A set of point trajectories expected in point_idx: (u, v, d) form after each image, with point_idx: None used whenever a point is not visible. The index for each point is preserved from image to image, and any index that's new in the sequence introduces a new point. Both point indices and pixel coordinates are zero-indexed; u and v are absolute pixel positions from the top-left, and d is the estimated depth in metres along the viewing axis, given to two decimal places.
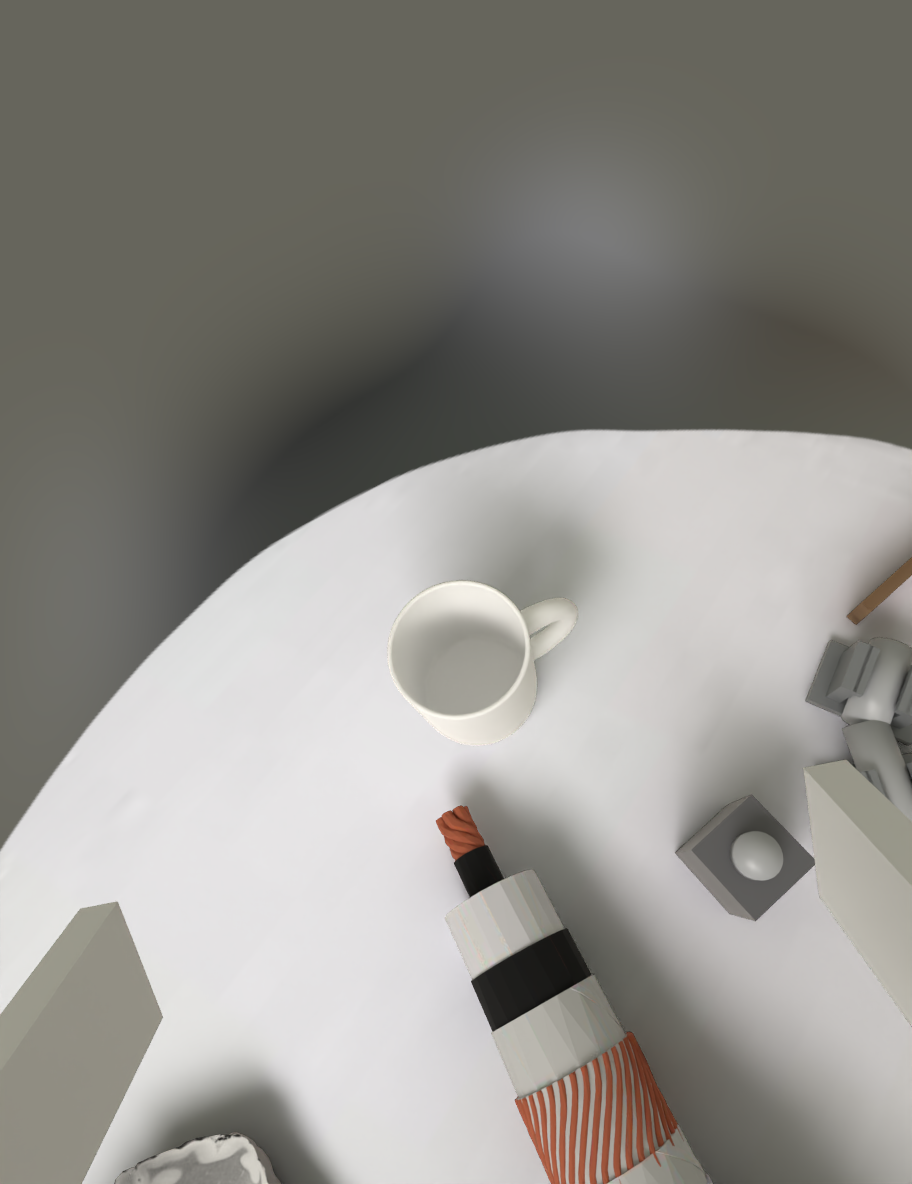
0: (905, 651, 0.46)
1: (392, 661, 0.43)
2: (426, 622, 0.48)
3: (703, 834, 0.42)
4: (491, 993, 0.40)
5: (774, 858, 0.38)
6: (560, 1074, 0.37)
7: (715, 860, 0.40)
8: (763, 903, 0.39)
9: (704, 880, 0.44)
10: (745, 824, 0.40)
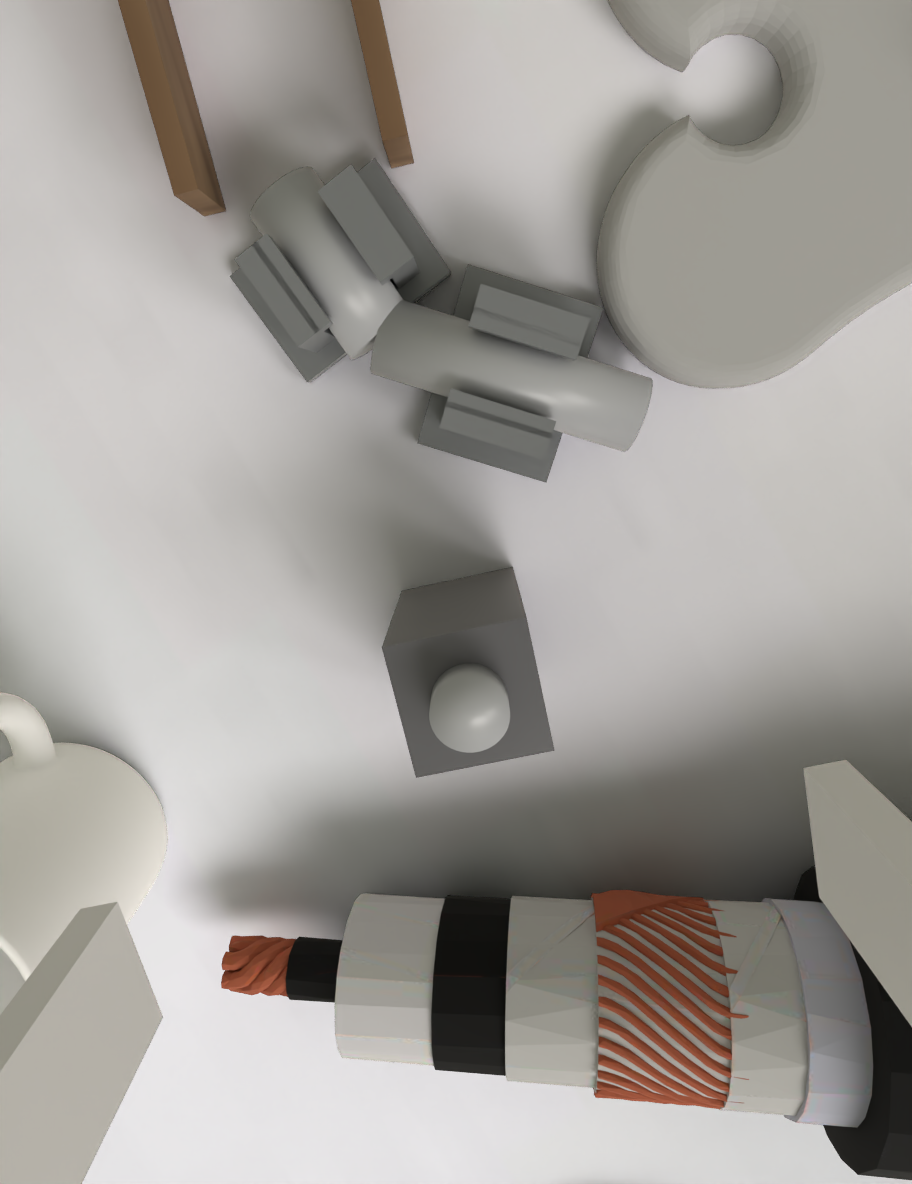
0: (293, 187, 0.23)
1: None
2: None
3: None
4: None
5: (485, 696, 0.22)
6: (592, 1067, 0.27)
7: (447, 754, 0.24)
8: (538, 726, 0.23)
9: None
10: (420, 683, 0.23)
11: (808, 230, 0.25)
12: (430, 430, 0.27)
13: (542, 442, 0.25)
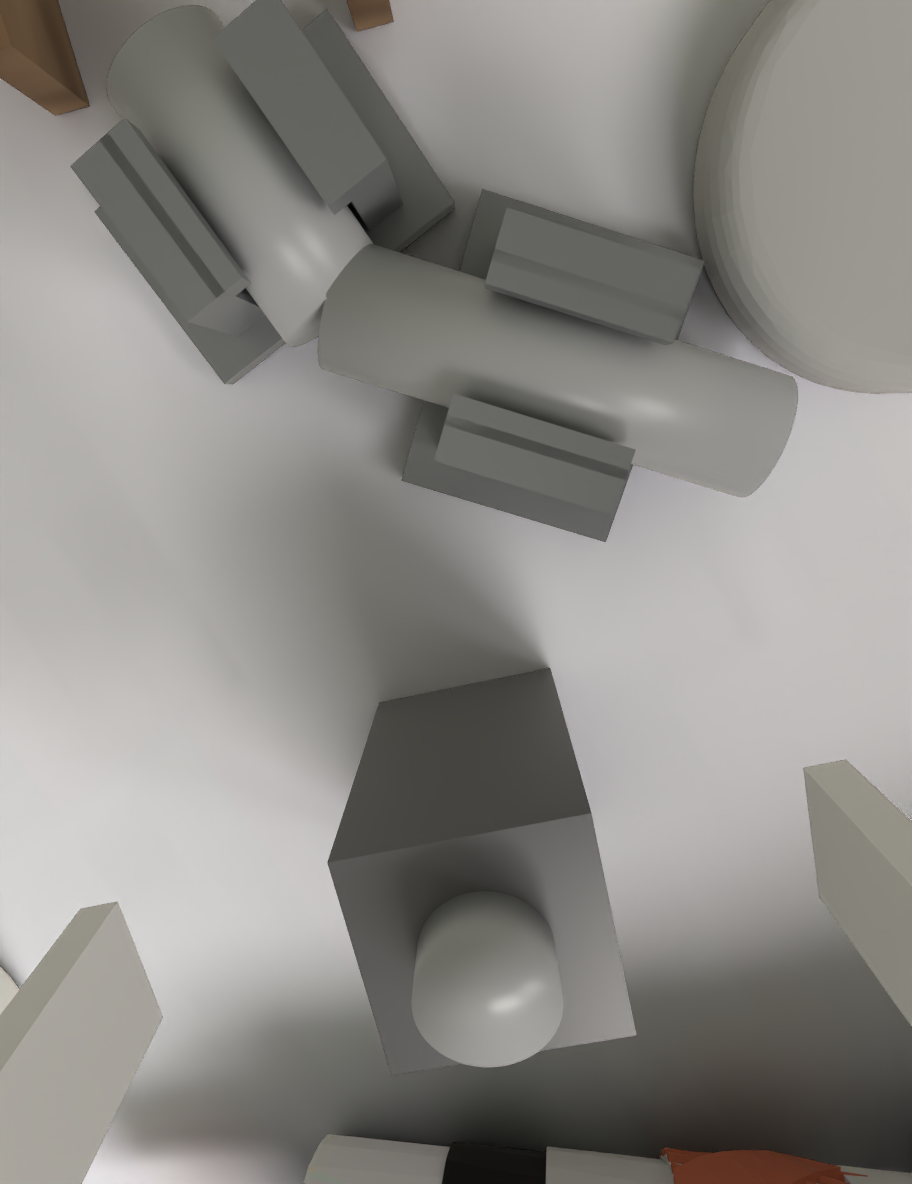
0: (174, 38, 0.13)
1: None
2: None
3: None
4: None
5: (517, 972, 0.12)
6: None
7: None
8: (608, 996, 0.13)
9: None
10: (398, 924, 0.13)
11: None
12: (423, 460, 0.17)
13: (611, 486, 0.14)
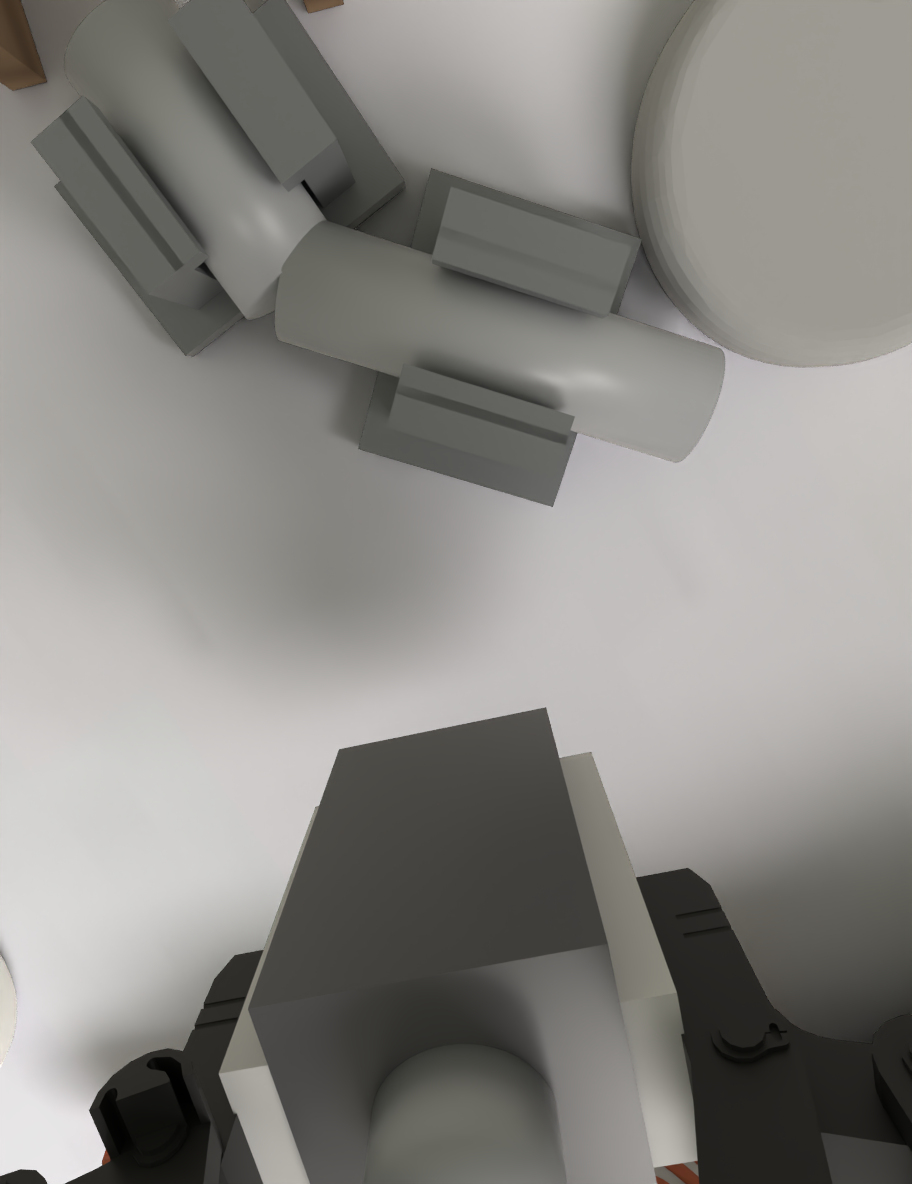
0: (130, 18, 0.14)
1: None
2: None
3: None
4: None
5: (507, 1177, 0.08)
6: None
7: None
8: (628, 1173, 0.10)
9: None
10: (346, 1085, 0.10)
11: None
12: (378, 428, 0.18)
13: (552, 450, 0.15)
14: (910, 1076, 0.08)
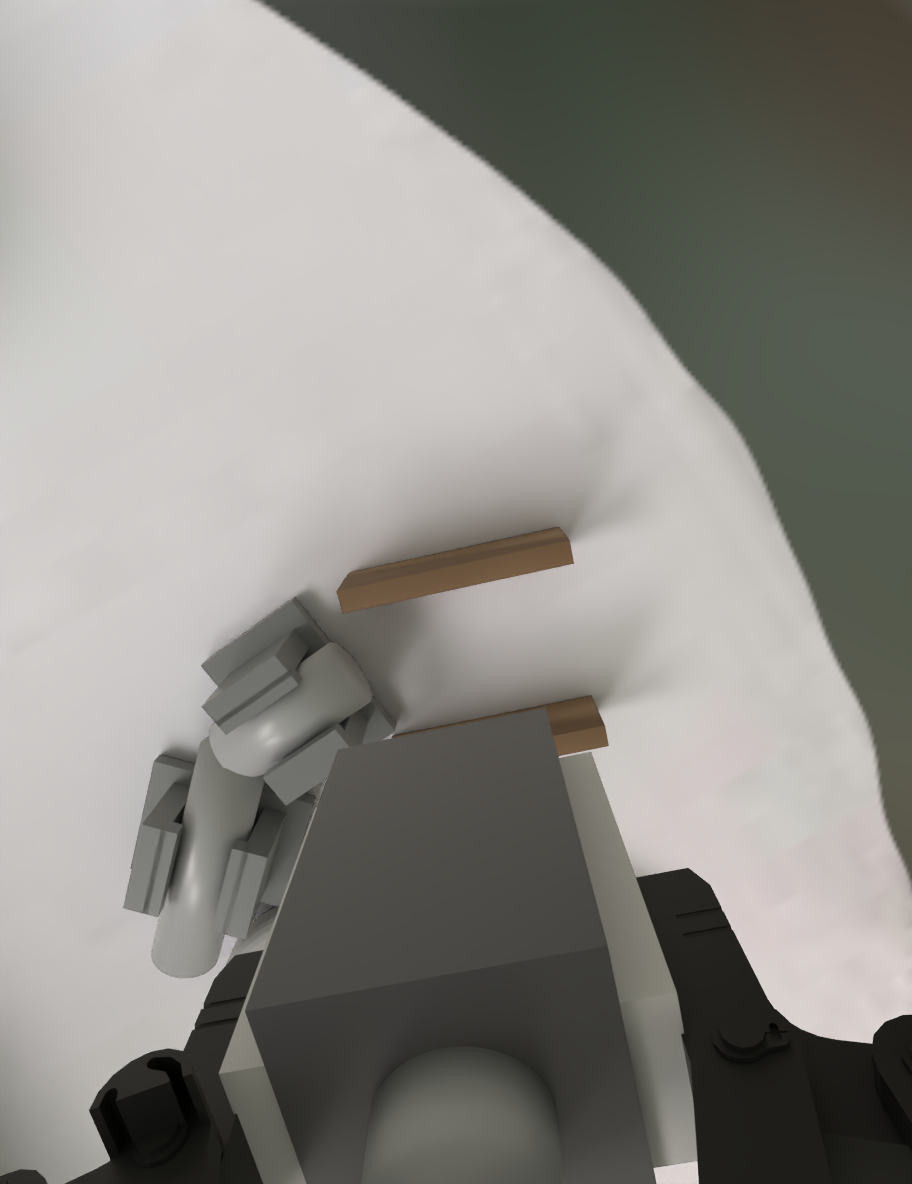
0: (342, 701, 0.26)
1: None
2: None
3: None
4: None
5: (504, 1181, 0.08)
6: None
7: None
8: (628, 1176, 0.10)
9: None
10: (343, 1088, 0.09)
11: None
12: (167, 773, 0.29)
13: (138, 906, 0.27)
14: (910, 1075, 0.08)
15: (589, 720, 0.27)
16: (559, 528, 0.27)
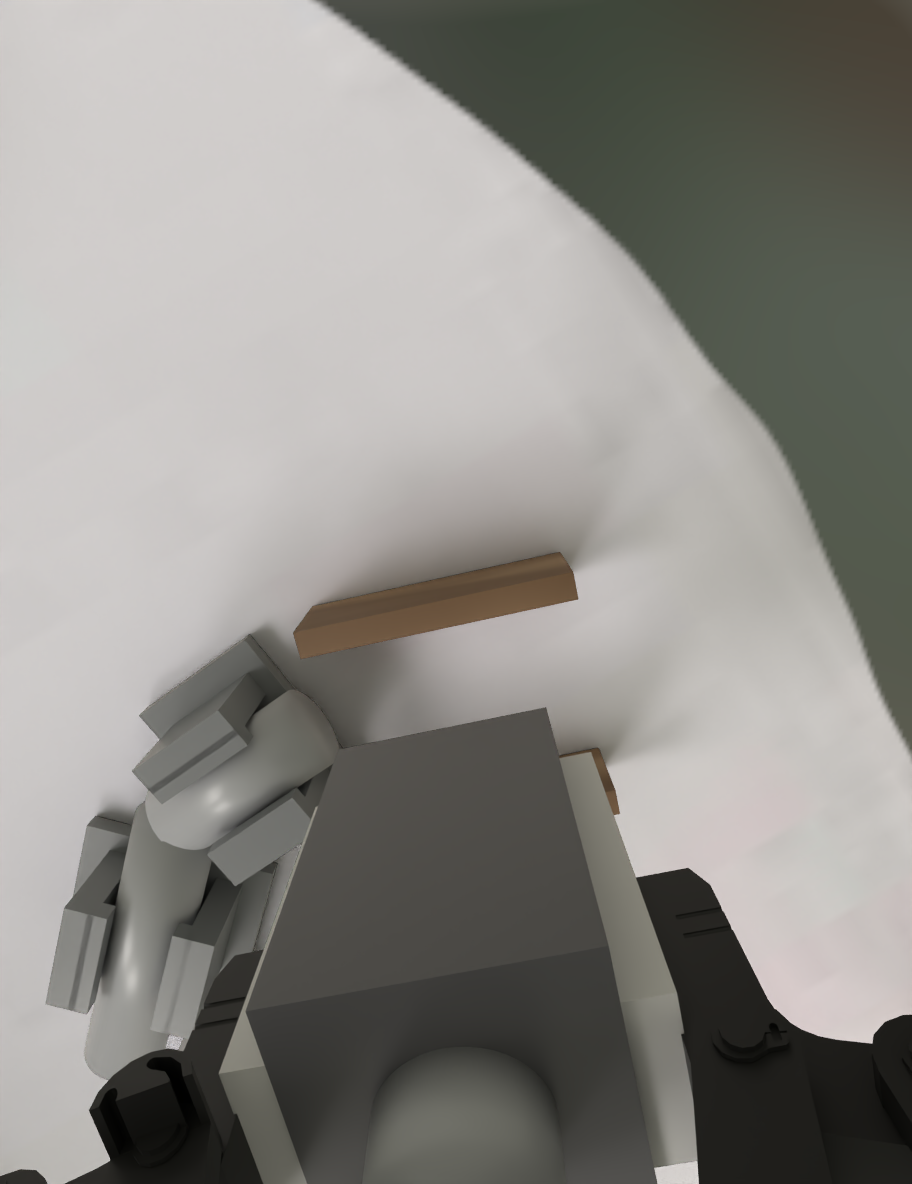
0: (302, 763, 0.22)
1: None
2: None
3: None
4: None
5: (506, 1181, 0.08)
6: None
7: None
8: (628, 1177, 0.10)
9: None
10: (345, 1088, 0.09)
11: None
12: (102, 839, 0.25)
13: (62, 1002, 0.23)
14: (910, 1076, 0.08)
15: None
16: (560, 554, 0.23)
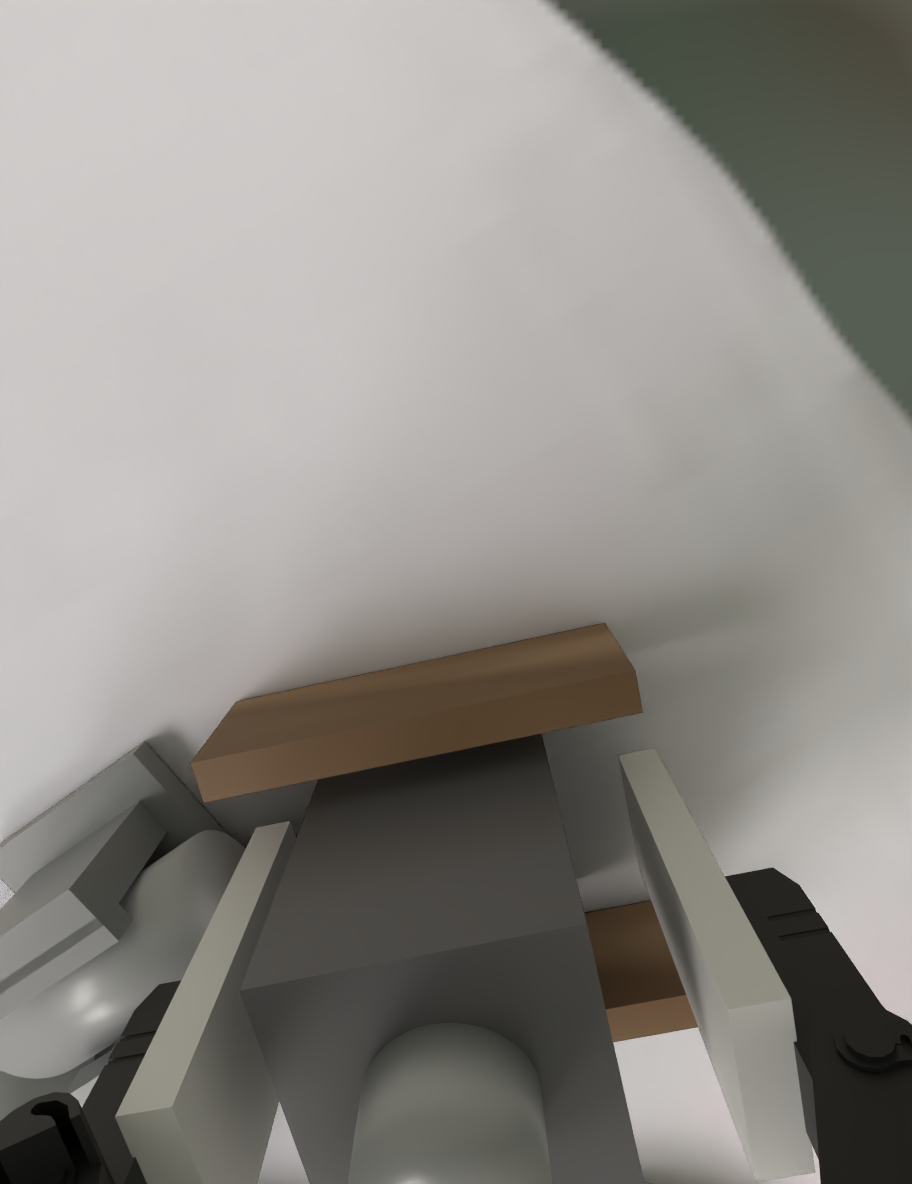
0: None
1: None
2: None
3: None
4: None
5: (488, 1148, 0.09)
6: None
7: None
8: (610, 1149, 0.10)
9: None
10: (334, 1065, 0.10)
11: None
12: None
13: None
14: None
15: (661, 972, 0.15)
16: (606, 628, 0.15)
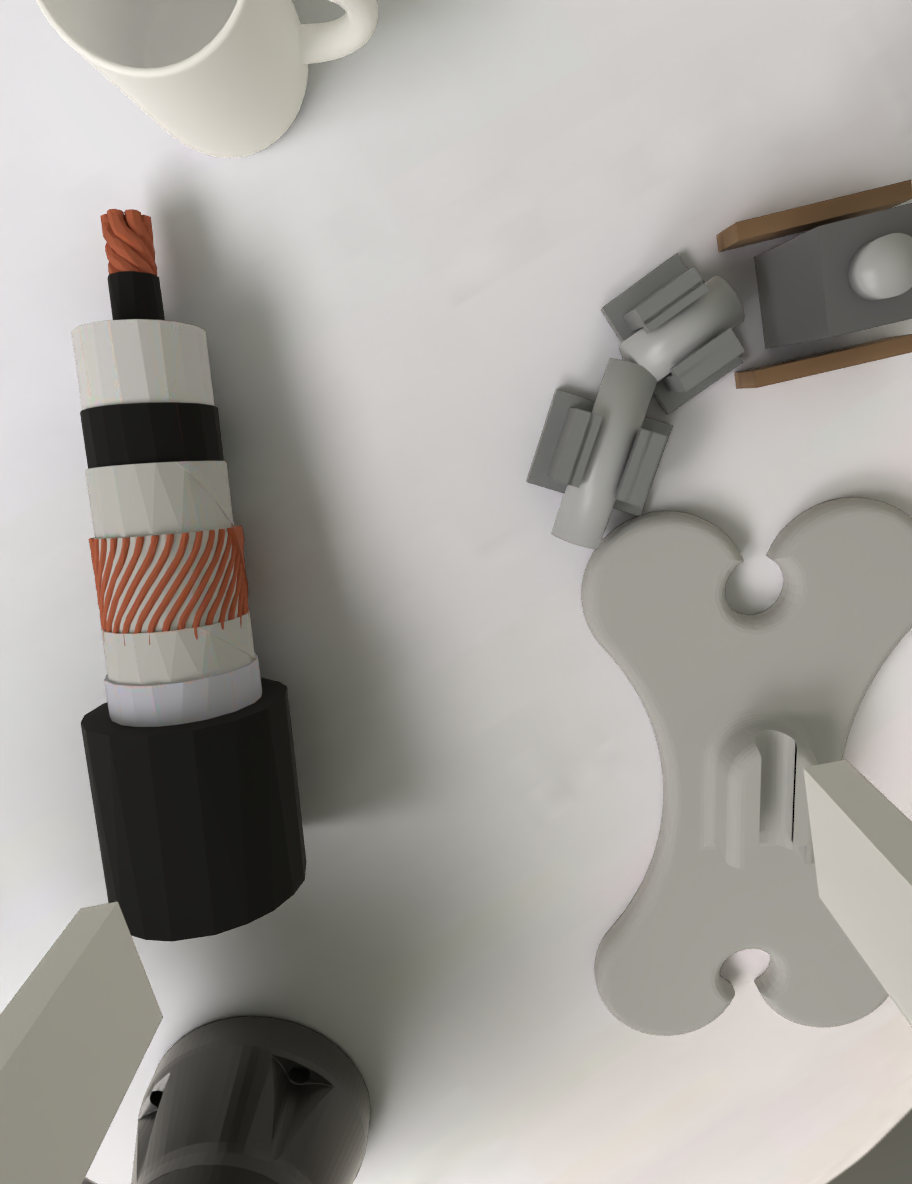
0: (733, 310, 0.35)
1: None
2: None
3: (803, 310, 0.34)
4: (89, 432, 0.35)
5: (906, 248, 0.30)
6: (129, 533, 0.34)
7: (855, 317, 0.32)
8: None
9: None
10: (842, 256, 0.31)
11: (675, 636, 0.41)
12: (565, 399, 0.39)
13: (565, 479, 0.37)
14: None
15: (904, 335, 0.37)
16: None
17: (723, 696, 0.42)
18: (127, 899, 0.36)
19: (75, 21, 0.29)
